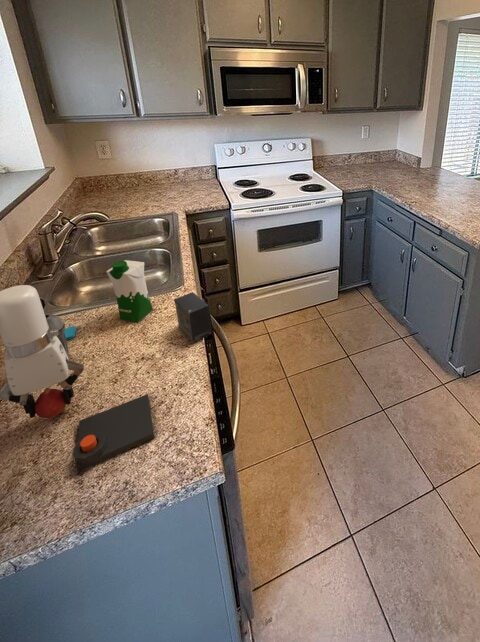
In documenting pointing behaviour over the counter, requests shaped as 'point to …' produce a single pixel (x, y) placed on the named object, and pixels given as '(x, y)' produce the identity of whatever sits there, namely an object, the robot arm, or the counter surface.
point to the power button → (88, 443)
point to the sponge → (70, 332)
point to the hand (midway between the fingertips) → (51, 405)
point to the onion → (50, 403)
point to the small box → (193, 317)
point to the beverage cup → (58, 324)
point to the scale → (115, 431)
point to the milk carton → (130, 290)
